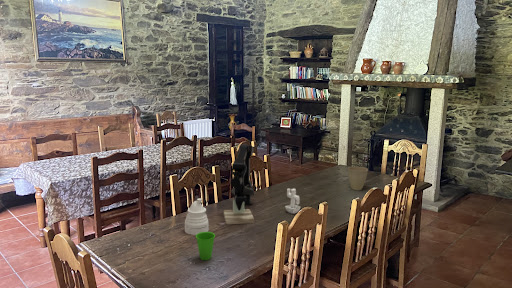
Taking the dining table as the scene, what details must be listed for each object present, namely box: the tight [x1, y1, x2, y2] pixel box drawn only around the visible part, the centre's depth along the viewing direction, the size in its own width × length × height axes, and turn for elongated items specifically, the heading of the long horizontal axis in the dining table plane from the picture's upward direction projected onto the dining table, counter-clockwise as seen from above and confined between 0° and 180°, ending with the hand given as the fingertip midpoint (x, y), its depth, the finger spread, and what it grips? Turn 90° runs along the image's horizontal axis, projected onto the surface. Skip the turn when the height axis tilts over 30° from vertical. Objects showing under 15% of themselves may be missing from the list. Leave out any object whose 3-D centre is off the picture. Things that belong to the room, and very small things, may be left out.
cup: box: [195, 231, 216, 261], centre depth 180 cm, size 9×9×11 cm
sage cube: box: [232, 199, 245, 213], centre depth 229 cm, size 6×6×6 cm
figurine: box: [284, 188, 302, 215], centre depth 241 cm, size 7×9×15 cm
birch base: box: [223, 208, 255, 225], centre depth 230 cm, size 16×16×2 cm
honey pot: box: [184, 198, 209, 236], centre depth 211 cm, size 13×13×18 cm
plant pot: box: [347, 166, 369, 191], centre depth 293 cm, size 15×15×16 cm
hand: (238, 208), depth 229 cm, fingers closed on sage cube, 6 cm apart
